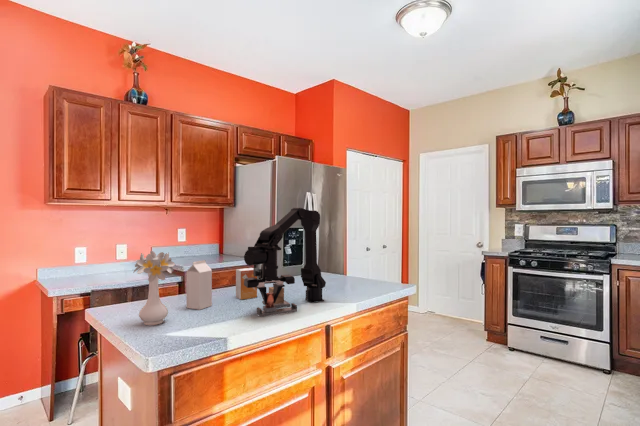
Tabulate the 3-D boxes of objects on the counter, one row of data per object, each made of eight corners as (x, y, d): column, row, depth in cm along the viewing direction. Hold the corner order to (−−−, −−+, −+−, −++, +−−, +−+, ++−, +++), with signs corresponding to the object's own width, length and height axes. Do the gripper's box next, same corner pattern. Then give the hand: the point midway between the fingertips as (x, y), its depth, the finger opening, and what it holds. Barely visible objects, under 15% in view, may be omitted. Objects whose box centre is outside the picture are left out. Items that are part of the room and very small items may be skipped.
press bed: (281, 301, 158) (281, 298, 158) (290, 306, 149) (290, 303, 149) (262, 303, 154) (262, 300, 154) (269, 308, 145) (269, 305, 145)
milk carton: (212, 306, 150) (211, 260, 150) (199, 310, 143) (199, 262, 143) (198, 304, 153) (198, 259, 153) (186, 308, 146) (186, 261, 146)
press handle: (272, 308, 140) (272, 292, 141) (276, 311, 137) (276, 294, 137) (263, 309, 139) (263, 293, 139) (266, 312, 135) (266, 295, 135)
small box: (240, 300, 160) (240, 270, 160) (235, 297, 166) (235, 269, 166) (257, 297, 165) (257, 269, 165) (252, 295, 170) (252, 267, 170)
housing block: (279, 299, 155) (279, 285, 155) (284, 302, 151) (284, 287, 151) (268, 301, 153) (268, 286, 153) (272, 303, 148) (272, 289, 148)
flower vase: (142, 333, 115) (142, 255, 115) (128, 320, 129) (128, 251, 129) (183, 325, 124) (183, 252, 124) (166, 314, 138) (166, 248, 138)
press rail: (293, 309, 144) (293, 303, 144) (297, 311, 141) (297, 305, 141) (256, 314, 138) (256, 307, 138) (260, 316, 134) (260, 310, 134)
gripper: (284, 259, 149) (284, 296, 149) (240, 261, 141) (240, 301, 141) (295, 262, 139) (295, 302, 139) (248, 265, 131) (248, 308, 131)
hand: (269, 303), depth 138 cm, fingers closed on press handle, 3 cm apart
